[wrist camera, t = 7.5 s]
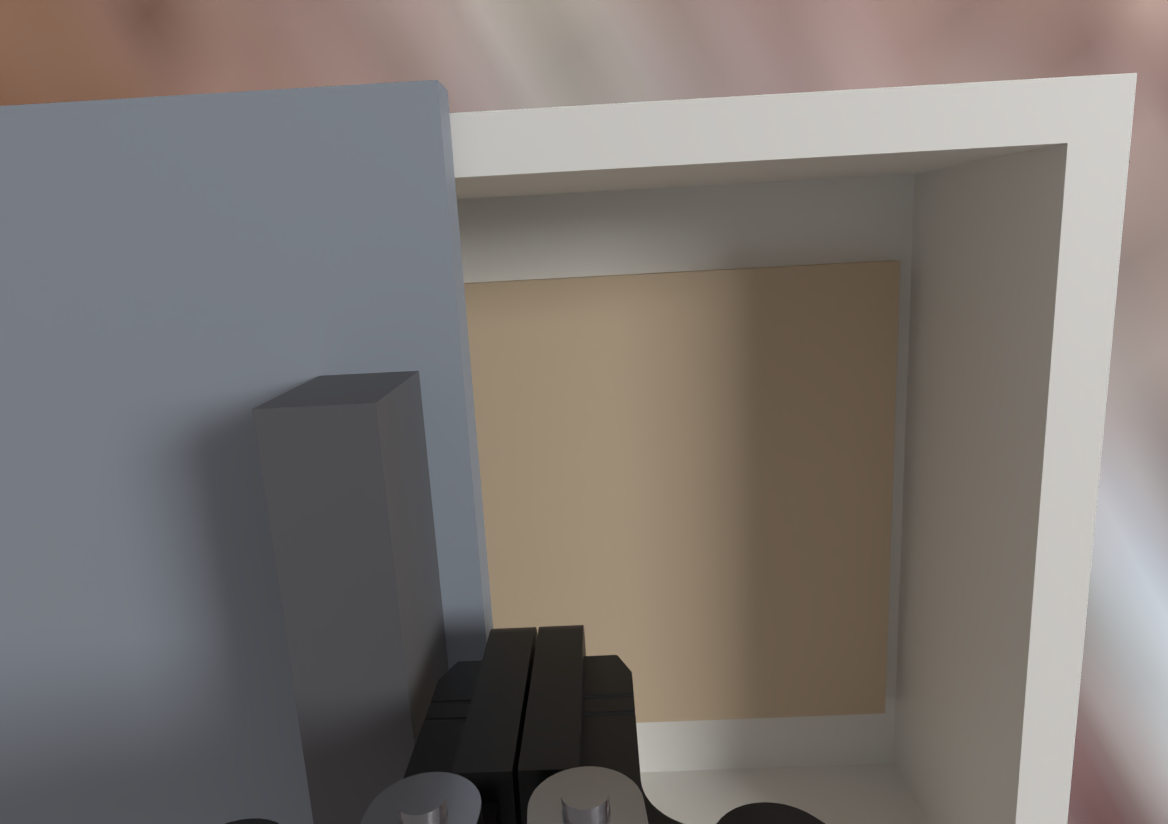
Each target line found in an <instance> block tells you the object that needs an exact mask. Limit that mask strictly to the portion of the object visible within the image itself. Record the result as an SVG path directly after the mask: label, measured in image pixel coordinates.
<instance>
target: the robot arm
mask: <svg viewBox="0 0 1168 824" xmlns="http://www.w3.org/2000/svg"><path fill="white" fill-rule="evenodd" d="M225 824H279V823H277V822H275V821H272V820H268V819H261V818H250V819H241V820H236V821H232V822H228V823H225ZM360 824H683V823H681V822H678V821H676V820H673V819H672V818H670V817H668V816H666V815H665V814H663V813H662V812H660V811H659V810H658V809H657V808H656V807H655V806H654V805H653V804H652V803H651V802H650V801H649V800H648V798H647V797H646V795H645V793H644V791H643V788H642V784H641V776H640V764H639V752H638V740H637V728H636V716H635V703H634V691H633V679H632V672H631V670H630V669H629V668H628V667H627V666H626V665H625V663H624V662H623V661H622V660H621V659H620V657H619V656H618V655H600V656H586V648H585V633H584V625H567V626H543V627H539V629H538V633H537V629H536V627H522V628H498V629H491V630H490V633H489V636H488V640H487V644H486V648H485V651H484V655H483V659H482V660H479V661H458V662H457V663H456V664H455V665H454V666H453V667H452V668H450V669H449V670H448V671H447V672H446V673H445V674H444V675H443V676H442V677H441V678H440V679H439V680H438V683H437V685H436V688H435V691H434V694H433V697H432V699H431V705H429V708H428V711H427V713H426V716H425V723H423V725H422V727H421V730H420V733H419V736H418V739H417V741H416V744H415V747H414V750H413V753H412V755H411V758H410V761H409V764H408V767H407V769H406V772H405V775H404V778H403V779H402V780H400V781H398V782H396V783H394V784H392V785H390V786H389V787H387V788H386V789H384V790H383V791H382V792H381V793H380V794H379V795H377V796H376V798H375V799H374V800H373V801H372V802H371V804H370V805H369V807H368V808H367V810H366V812H365V814H364V816H363V818H362V820H361V822H360ZM717 824H825V823H824V822H822V821H820V820H819V819H817V818H816V817H814V816H812V815H811V814H809V813H807V812H805V811H803V810H801V809H798V808H796V807H792V806H789V805H785V804H779V803H770V802H760V803H751V804H746V805H743V806H740V807H737V808H735V809H733V810H731V811H729V812H728V813H726V814H725V815H724V816H723V817H722V818H721V819H720V820H719V821H718V822H717Z"/></svg>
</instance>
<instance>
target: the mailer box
mask: <svg viewBox="0 0 1168 824" xmlns="http://www.w3.org/2000/svg"><path fill="white" fill-rule="evenodd" d="M1136 79H1137V73H1126V74H1109V75H1092V76H1075V77H1058V78H1041V79H1024V80H1007V81H990V82H973V83H956V84H939V85H922V86H905V87H888V88H871V89H854V90H837V91H820V92H803V93H786V94H769V95H752V96H735V97H718V98H701V99H684V100H667V101H650V102H633V103H616V104H599V105H582V106H565V107H548V108H531V109H514V110H497V111H480V112H463V113H449V115H450V126H451V138H452V150H453V162H454V173H455V185H456V197H457V209H458V220H459V232H460V244H461V255H462V267H463V279H464V291H465V302H466V314H467V326H468V338H469V349H470V361H471V373H472V385H473V396H474V408H475V420H476V431H477V443H478V455H479V467H480V478H481V490H482V502H483V514H484V525H485V537H486V549H487V561H488V572H489V584H490V596H491V607H492V619H493V629H498V628H522V627H536V629H537V633H538V629H539V627H543V626H567V625H584V633H585V648H586V656H600V655H618V656H619V657H620V659H621V660H622V661H623V662H624V663H625V665H626V666H627V667H628V668H629V669H630V670H631V672H632V679H633V691H634V703H635V716H636V728H637V740H638V752H639V764H640V776H641V784H642V788H643V791H644V793H645V795H646V797H647V798H648V800H649V801H650V802H651V803H652V804H653V805H654V806H655V807H656V808H657V809H658V810H659V811H660V812H662V813H663V814H665V815H666V816H668V817H670V818H672V819H673V820H676V821H678V822H681V823H683V824H717V822H718V821H719V820H720V819H721V818H722V817H723V816H724V815H725V814H726V813H728V812H729V811H731V810H733V809H735V808H737V807H740V806H743V805H746V804H751V803H760V802H770V803H779V804H785V805H789V806H792V807H796V808H798V809H801V810H803V811H805V812H807V813H809V814H811V815H812V816H814V817H816V818H817V819H819V820H820V821H822V822H824V823H825V824H1067V820H1068V809H1069V798H1070V787H1071V777H1072V766H1073V755H1074V744H1075V734H1076V723H1077V712H1078V702H1079V691H1080V680H1081V669H1082V659H1083V648H1084V637H1085V626H1086V616H1087V605H1088V594H1089V584H1090V573H1091V562H1092V551H1093V541H1094V530H1095V519H1096V508H1097V498H1098V487H1099V476H1100V465H1101V455H1102V444H1103V433H1104V423H1105V412H1106V401H1107V390H1108V380H1109V369H1110V358H1111V347H1112V337H1113V326H1114V315H1115V305H1116V294H1117V283H1118V272H1119V262H1120V251H1121V240H1122V229H1123V219H1124V208H1125V197H1126V187H1127V176H1128V165H1129V154H1130V144H1131V133H1132V122H1133V111H1134V101H1135V90H1136Z"/></svg>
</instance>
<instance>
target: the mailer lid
mask: <svg viewBox="0 0 1168 824" xmlns="http://www.w3.org/2000/svg"><path fill="white" fill-rule="evenodd" d="M491 629H493V619H492V607H491V596H490V584H489V572H488V561H487V549H486V537H485V525H484V514H483V502H482V490H481V478H480V467H479V455H478V443H477V431H476V420H475V408H474V396H473V385H472V373H471V361H470V349H469V338H468V326H467V314H466V302H465V291H464V279H463V267H462V255H461V244H460V232H459V220H458V209H457V197H456V185H455V173H454V162H453V150H452V138H451V126H450V115H449V103H448V91H447V89H446V88H445V87H444V86H443V85H442V84H441V83H440V82H439V81H438V80H427V81H411V82H394V83H377V84H361V85H344V86H327V87H311V88H294V89H277V90H261V91H244V92H227V93H211V94H194V95H177V96H160V97H144V98H127V99H110V100H94V101H77V102H60V103H44V104H27V105H10V106H0V824H225V823H228V822H232V821H236V820H241V819H250V818H261V819H268V820H272V821H275V822H277V823H279V824H360V822H361V820H362V818H363V816H364V814H365V812H366V810H367V808H368V807H369V805H370V804H371V802H372V801H373V800H374V799H375V798H376V796H377V795H379V794H380V793H381V792H382V791H383V790H384V789H386V788H387V787H389V786H390V785H392V784H394V783H396V782H398V781H400V780H402V779H403V778H404V775H405V772H406V769H407V767H408V764H409V761H410V758H411V755H412V753H413V750H414V747H415V744H416V741H417V739H418V736H419V733H420V730H421V727H422V725H423V723H425V716H426V713H427V711H428V708H429V705H431V699H432V697H433V694H434V691H435V688H436V685H437V683H438V680H439V679H440V678H441V677H442V676H443V675H444V674H445V673H446V672H447V671H448V670H449V669H450V668H452V667H453V666H454V665H455V664H456V663H457V662H458V661H479V660H482V659H483V655H484V651H485V648H486V644H487V640H488V636H489V633H490V630H491Z"/></svg>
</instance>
